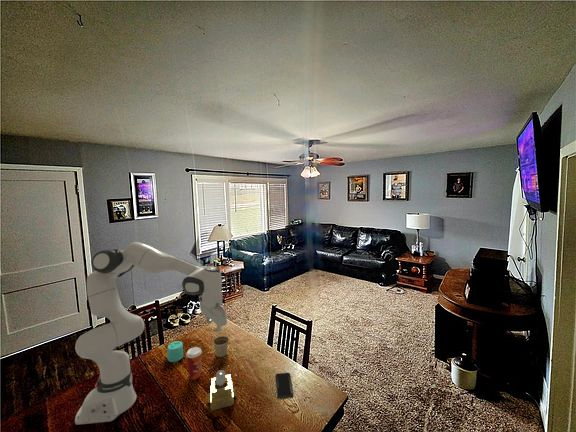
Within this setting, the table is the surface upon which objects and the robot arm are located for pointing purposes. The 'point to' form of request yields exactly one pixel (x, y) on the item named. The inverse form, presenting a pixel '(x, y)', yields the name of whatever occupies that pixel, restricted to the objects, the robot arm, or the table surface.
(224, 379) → the silver metal cylinder
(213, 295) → the robot arm
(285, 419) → the table surface
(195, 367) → the paper cup
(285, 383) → the phone
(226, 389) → the valve body
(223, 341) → the flower pot
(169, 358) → the turquoise rounded container
